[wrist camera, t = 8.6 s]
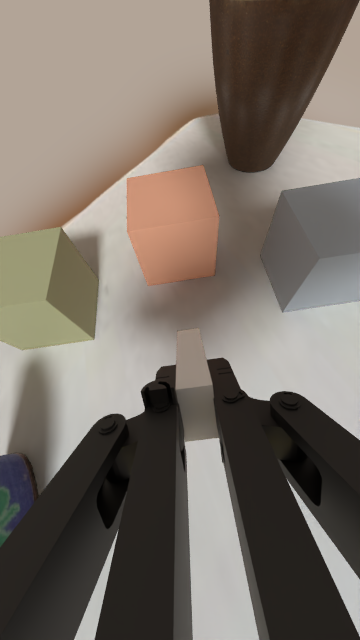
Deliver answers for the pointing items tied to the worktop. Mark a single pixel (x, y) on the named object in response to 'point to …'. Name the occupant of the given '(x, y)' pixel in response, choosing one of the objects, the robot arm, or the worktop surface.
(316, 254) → the slate block
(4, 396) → the worktop surface
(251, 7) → the plant pot
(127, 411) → the worktop surface
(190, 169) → the terracotta block
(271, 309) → the worktop surface
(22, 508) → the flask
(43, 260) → the olive block
